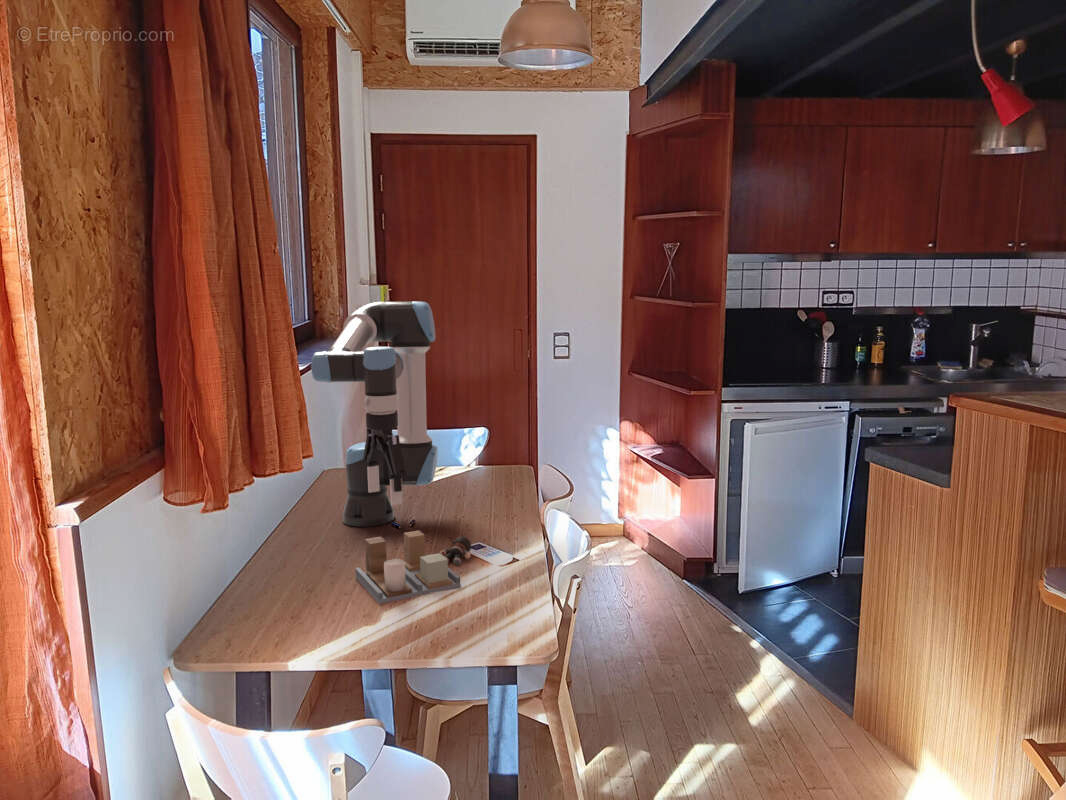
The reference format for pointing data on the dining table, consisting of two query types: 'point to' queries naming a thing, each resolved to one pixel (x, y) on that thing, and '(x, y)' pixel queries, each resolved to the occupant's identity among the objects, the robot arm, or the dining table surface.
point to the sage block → (434, 568)
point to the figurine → (458, 550)
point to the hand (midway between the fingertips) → (385, 497)
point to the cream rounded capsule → (394, 575)
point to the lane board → (411, 573)
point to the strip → (379, 565)
